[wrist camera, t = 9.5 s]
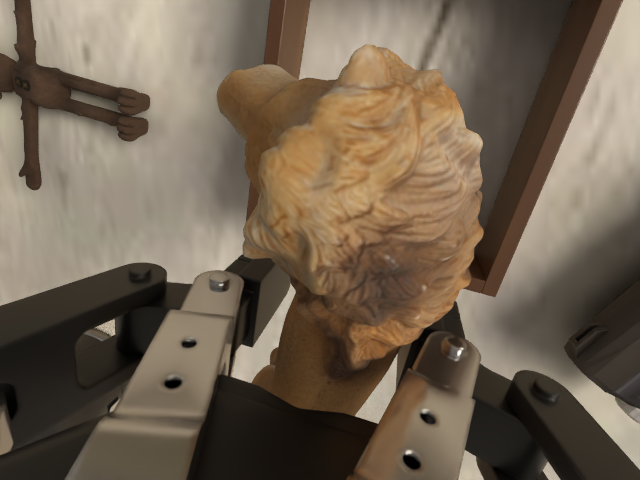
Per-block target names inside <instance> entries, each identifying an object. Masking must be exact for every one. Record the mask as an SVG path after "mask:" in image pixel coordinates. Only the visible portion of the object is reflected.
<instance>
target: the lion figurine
mask: <svg viewBox="0 0 640 480" xmlns="http://www.w3.org/2000/svg"><path fill="white" fill-rule="evenodd" d="M217 102H218V107H219V110H220V112H221V113H222V114H223V115H224V116H225V117H226V118H227V119H228V120H229V121H230V122H231V124H232V125H233V126H234V128H235V129H236V131H237V132H238V134H239V135H240V136H241V137H242V138H244V139H245V140H247V142H246V146H245V156H246V160H245V169H246V173H247V176H248V178H249V180H250V181H251V183H252V184H253V186H254V187H255V188H256V190H257V191H258V193H259V199H258V204H257V206H256V207H255V209H254V211H253V212H252V214H251V216H250V217H249V219H248V220H247V221H246V223H245V226H244V229H243V232H244V238H245V241H244V243H243V255H244V257H247V258H251V259H261V258H271V259H272V261H273V262H274V263H276V264H277V265H278V266H279V267H280V268H281V269H282V270H283V271H284V272H285V273H286V274H288V275H289V276H290V280H291V284H292V286H293V287H294V289H295V290H296V294H295V296H294V298H293V301H292V303H291V305H290V308H289V310H288V312H287V315H286V318H285V321H284V325H283V329H282V333H281V337H280V342H279V347H277V348H275V349H274V350H273V351H272V352H271V355H270V365H267V366H266V367H264V368H263V369H262V370H261V371H260V372H259V373H258V374H257V375H256V376H255V378H254V379H253V381H252V383H251V384H254V385H258V386H260V387H262V388H263V389H265V390H267V391H268V392H270V393H272V394H274V395H275V396H277V397H279V398H281V399H282V400H284V401H286V402H287V403H289V404H291V405H293V406H295V407H297V408H301V409H310V410H320V411H330V412H340V413H345V414H349V415H352V416H355V415H356V413H357V412H358V411H359V409H360V408H361V407H362V405H363V404H364V403H365V401H366V400H367V399H368V397H369V396H370V394H371V393H372V392H373V390H374V389H375V388H376V386H377V385H378V384H379V382H380V381H381V380H382V378H383V377H384V375H385V374H386V372H387V371H388V369H389V367H390V366H391V364H392V362H393V360H394V358H395V357H396V355H397V353H398V351H399V349H400V348H401V346H402V345H407V344H410V343H412V342H413V341H414V340H417V339H418V338H419V336H420V335H421V333H422V332H423V330H424V329H425V327H428V326H430V325H431V324H432V323H434V322H436V321H438V320H439V319H441V318H442V317H443V316H444V315H445V314H446V313H448V312H449V311H450V310H451V308H452V307H453V305H454V301H455V300H456V298H457V296H458V294H459V291H460V290H461V289H463V288H465V287H467V286H468V285H469V283H470V281H471V275H470V272H469V266H470V264H471V262H472V260H473V258H474V248H475V246H476V245H477V243H478V242H479V241H480V240H481V239H482V237H483V234H484V231H483V228H482V227H481V226H480V223H479V221H478V217H477V216H478V214H479V212H480V206H481V204H480V203H481V202H482V193H481V192H480V191H479V188H481V185H482V182H483V178H482V174H481V169H480V151H481V149H482V147H483V141H482V139H481V138H480V136H479V135H478V134H477V133H475V132H473V131H471V130H468V129H467V128H466V126H465V121H464V115H463V111H462V109H461V107H460V105H459V102H458V99H457V96H456V93H455V92H453V91H452V90H451V89H450V88H448V87H447V86H446V85H445V83H444V81H443V78H442V75H441V72H440V71H439V70H438V69H437V70H425V71H418V70H415V69H413V68H412V67H410V66H409V65H407V64H405V63H404V62H403V61H402V60H401V59H400V58H399V56H397V55H396V54H394V53H393V52H391V51H390V50H389V49H387V48H381V47H376V46H374V45H367V44H366V45H364V46H363V47H361V48H359V49H358V50H356V51H355V52H354V53H353V55H352V56H351V58H350V60H349V63H348V65H346V66H345V67H344V68H343V69H342V71H341V73H340V75H339V77H338V79H336V80H328V81H326V80H320V79H314V78H305V79H301V80H298V79H296V78H294V77H293V76H292V75H290V74H289V73H288V72H287V71H285V70H284V69H282V68H281V67H279V66H276V65H271V64H269V65H259V66H255V67H252V68H249V69H238V70H235V71H233V72H231V73H230V74H229V75H228V76H227V77H226V78H225V79H224V80H223V82H222V83H221V84H220V86H219V88H218V91H217Z"/></svg>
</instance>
